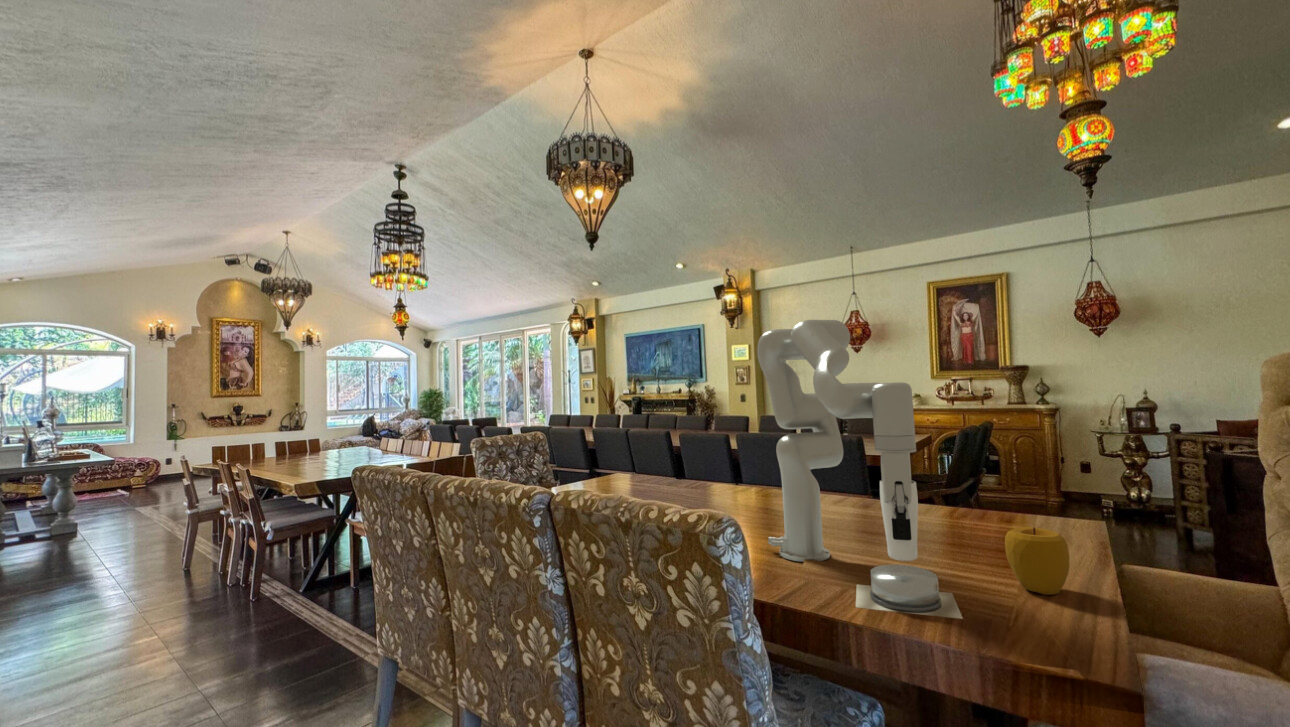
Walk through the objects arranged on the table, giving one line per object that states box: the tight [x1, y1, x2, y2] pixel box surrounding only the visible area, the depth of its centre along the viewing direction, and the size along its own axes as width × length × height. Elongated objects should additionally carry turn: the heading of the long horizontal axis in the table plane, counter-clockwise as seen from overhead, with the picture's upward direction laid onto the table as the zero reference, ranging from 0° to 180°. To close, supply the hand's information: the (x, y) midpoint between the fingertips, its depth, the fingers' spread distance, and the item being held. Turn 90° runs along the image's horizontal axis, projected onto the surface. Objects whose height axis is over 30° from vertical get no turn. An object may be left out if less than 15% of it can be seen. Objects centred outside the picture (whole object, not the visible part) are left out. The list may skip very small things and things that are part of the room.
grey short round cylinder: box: [870, 564, 941, 614], centre depth 106 cm, size 13×13×5 cm
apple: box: [1004, 526, 1070, 596], centre depth 111 cm, size 11×11×13 cm
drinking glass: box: [879, 479, 919, 562], centre depth 107 cm, size 7×7×15 cm
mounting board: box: [855, 583, 964, 620], centre depth 106 cm, size 18×13×1 cm
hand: (901, 534), depth 107 cm, fingers closed on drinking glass, 6 cm apart
